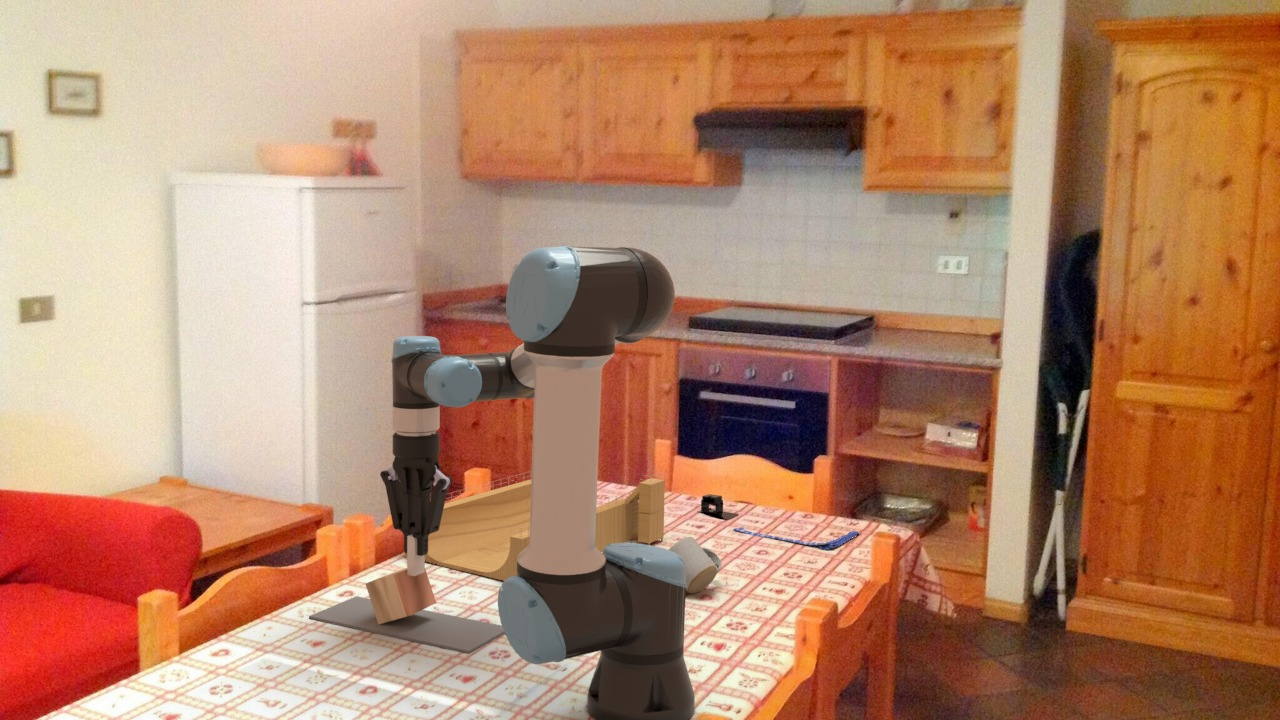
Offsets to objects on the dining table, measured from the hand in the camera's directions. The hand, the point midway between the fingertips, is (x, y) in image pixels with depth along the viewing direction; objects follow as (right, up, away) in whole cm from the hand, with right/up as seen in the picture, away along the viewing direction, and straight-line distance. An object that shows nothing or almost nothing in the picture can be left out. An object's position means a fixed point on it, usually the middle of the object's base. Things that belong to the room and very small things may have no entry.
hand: (416, 573), depth 187 cm
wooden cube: (-6, -5, +3) cm, 8 cm away
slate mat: (-1, -9, +2) cm, 9 cm away
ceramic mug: (+47, -8, +24) cm, 53 cm away
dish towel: (+71, -4, +62) cm, 94 cm away
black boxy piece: (+54, -3, +76) cm, 93 cm away
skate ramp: (+16, -5, +45) cm, 48 cm away
